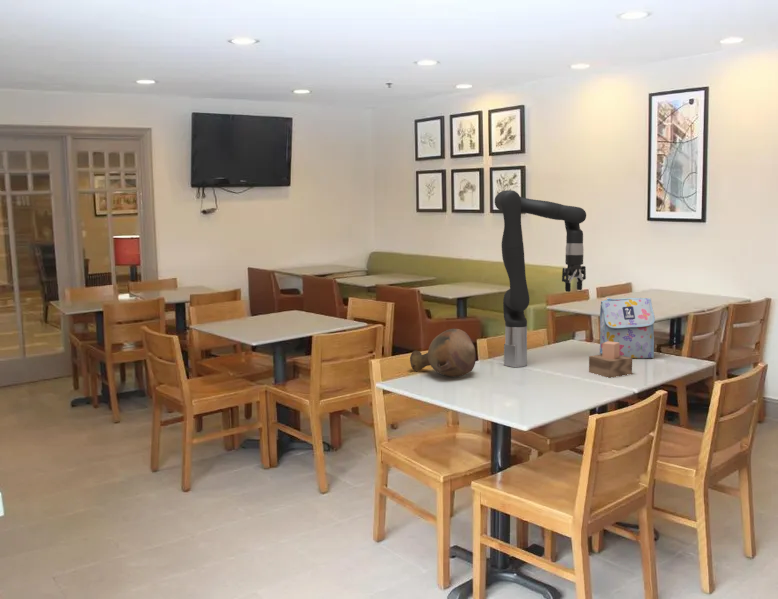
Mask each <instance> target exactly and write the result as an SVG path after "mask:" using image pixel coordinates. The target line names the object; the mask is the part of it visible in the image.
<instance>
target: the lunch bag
mask: <svg viewBox="0 0 778 599" xmlns="http://www.w3.org/2000/svg"><path fill="white" fill-rule="evenodd" d="M599 308H600V309H599V327H600V328H599V329H600V330H599V333H600V335H599V353H600V355H601V354H602V350H603V343H605V342H607V341H611V342H619V343H620V345H619V355H622V356H626V357H630V358H632V359H650V358H652V359H654V358H655V347H654V346H655V336H654V335H655V334H654V332H655V329H654V324H655V322H656V321H655V320H656V317H655V312H654V310H653V303H652V298H649V297H648V298H646V297H645V298H643V297H627V298H611V297H606V300H601V301H600V307H599Z"/></svg>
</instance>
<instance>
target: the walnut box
mask: <svg viewBox="0 0 778 599" xmlns="http://www.w3.org/2000/svg"><path fill="white" fill-rule="evenodd" d="M588 373H590V374H593V373H594V375H597V374H598V375H597V376H600V375H601V376H600V377H605V378H607V377H608V379H612V378H611V377H613V378H617V377H616V376H619V377H622V375H625V376H628V375H627V374H631V375H633V358H630V357H626V356H622V355H619V357H618V358H616V359H609V358H602V354H601V353H600V354H596V355H594V354H593V355H590V356H588Z"/></svg>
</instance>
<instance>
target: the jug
mask: <svg viewBox="0 0 778 599" xmlns="http://www.w3.org/2000/svg"><path fill="white" fill-rule="evenodd" d="M475 350H476V348H475V345H474V342H473V341H472V338H471V337H470V335H468V333H467V332H466V331H465V330H462V329H460V328H449V329H446V330H445V331H443V332H441V333H439V334H438V335H436V336H435V337H434V338H433V339H432V341H431V342H430V344H429V346H428V350H427V352H426V353H424V354H422V352H421V351H419V350H414V351H411V354H410V355H409V363H410V366H411V368H412V369H413V371H414V372H415V373H417V372H418V371H420V370H422V369H424V368H425V367H429V366H431V368H432V369H433V371H435V372H436V373H438V374H440V375H442V376H446V377H451V378H456V377H461V376H465V375H467V374H470V373H471V372H472V371H473V370H474V368H475V366H476V351H475Z"/></svg>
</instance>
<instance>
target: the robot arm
mask: <svg viewBox="0 0 778 599" xmlns="http://www.w3.org/2000/svg"><path fill="white" fill-rule="evenodd" d="M494 205H495V208H496V209H497V210H499V211H500V212H501V213H502V216H503V224H504V225H503V226H504V228H503V232H502V233H503V234H502V238H501V256H502V261H503V265H504V268H505V271H506V274H507V276H508V280H509V289H508V290H506V292H505V293H504V296H503V300H502V302H503V303H502V304H503V306H502V307H503V319H504V323H505V324H504V326H505V329H504V330H505V333H504V334H505V335H504V336H505V341H504V342H505V343H504V345H503V366H505V367H512V368H518V367H519V368H521V367H526V366H528V320H527V318H526V316H525V310H526V309H527V308H528V307H529V305H530V294H529V288H528V284H527V277H526V263H525V247H524V238H523V229H522V213H524V214H529V215H533V216H538V217H541V218H545V219H550V220H555V221H564V227H565V232H566V236H565V237H566V240H565V241H566V245H565V265H567V267H562V270H561V271H562V272H561V273H562V274H561V282H563V283H564V286H565V287H564V289H565V292H568V293H569V292H571V287H572V286H571V285H572V283H571V282H572V280H574V278H575V279H576V280H577V281H576V290H577V291H582V290H583V282H584V280H586V278H587V275H586V274H587V273H586V272H587V271H586V265H585V266H584V232H583V230H582V229H581V226H580V224H582V223H583V222H585V221H586V218H587V212H586V210H584V208H582V207H579V206H573V205H565V204H561V203H559V202H553V201H548V200H540V199H532V198H527V197H523V196H521V195H520V194H519V193H518V192H517V191H516V190H510V189H509V190H507V189H506V190H501V191H500V192H498V193H497V194H496V195H495V197H494Z"/></svg>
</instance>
